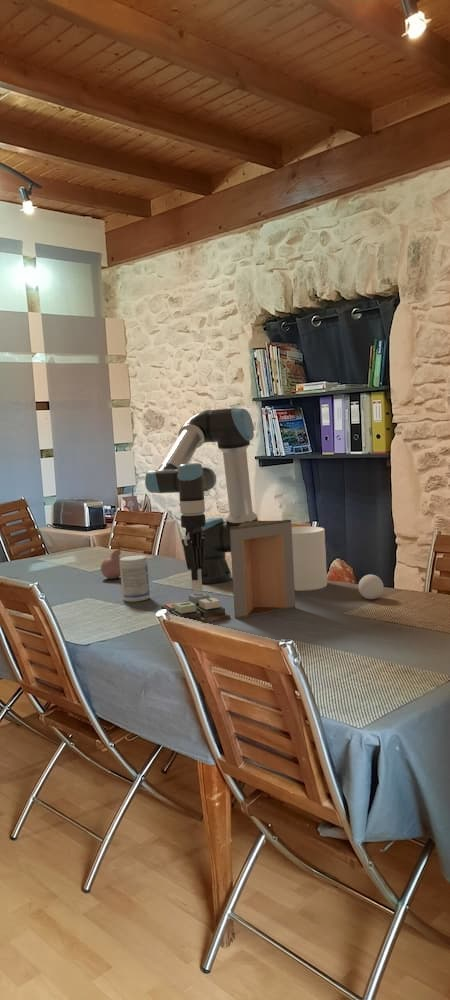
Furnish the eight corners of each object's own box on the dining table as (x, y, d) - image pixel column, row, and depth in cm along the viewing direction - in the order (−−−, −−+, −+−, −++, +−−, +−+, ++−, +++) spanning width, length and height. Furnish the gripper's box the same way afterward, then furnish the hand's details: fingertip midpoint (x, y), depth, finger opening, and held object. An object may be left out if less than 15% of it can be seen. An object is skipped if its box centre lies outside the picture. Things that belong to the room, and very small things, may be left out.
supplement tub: (154, 599, 262) (151, 557, 261) (130, 604, 257) (126, 561, 256) (141, 594, 270) (139, 554, 269) (117, 599, 265) (114, 558, 264)
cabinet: (237, 619, 229) (232, 527, 226) (222, 612, 238) (217, 524, 235) (295, 607, 239) (291, 520, 236) (279, 602, 247) (275, 517, 244)
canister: (276, 589, 266) (273, 533, 264) (289, 580, 280) (287, 526, 278) (320, 591, 260) (317, 533, 257) (331, 581, 274) (329, 526, 272)
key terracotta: (180, 608, 242) (180, 601, 241) (186, 611, 237) (185, 604, 237) (165, 610, 240) (165, 603, 239) (171, 614, 235) (170, 607, 235)
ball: (388, 597, 245) (387, 573, 244) (375, 603, 239) (374, 578, 238) (367, 595, 250) (366, 571, 249) (353, 600, 244) (352, 575, 243)
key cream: (214, 603, 236) (213, 597, 236) (220, 607, 232) (220, 600, 232) (199, 606, 234) (198, 599, 234) (205, 609, 230) (205, 602, 230)
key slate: (203, 598, 245) (202, 591, 244) (209, 601, 240) (208, 594, 240) (188, 600, 243) (188, 594, 242) (194, 603, 238) (194, 596, 238)
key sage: (190, 607, 233) (189, 600, 233) (196, 611, 229) (195, 604, 228) (175, 610, 231) (174, 603, 231) (180, 613, 227) (180, 606, 226)
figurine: (133, 577, 303) (130, 547, 301) (108, 582, 296) (106, 551, 295) (121, 574, 310) (119, 545, 308) (97, 579, 303) (95, 549, 302)
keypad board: (206, 606, 248) (206, 597, 248) (230, 618, 231) (229, 608, 230) (157, 614, 241) (156, 604, 241) (178, 627, 224) (177, 617, 224)
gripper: (190, 511, 239) (195, 585, 241) (172, 516, 227) (176, 594, 229) (212, 511, 236) (216, 585, 238) (194, 516, 224) (199, 595, 226)
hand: (197, 589), depth 233 cm, fingers closed
